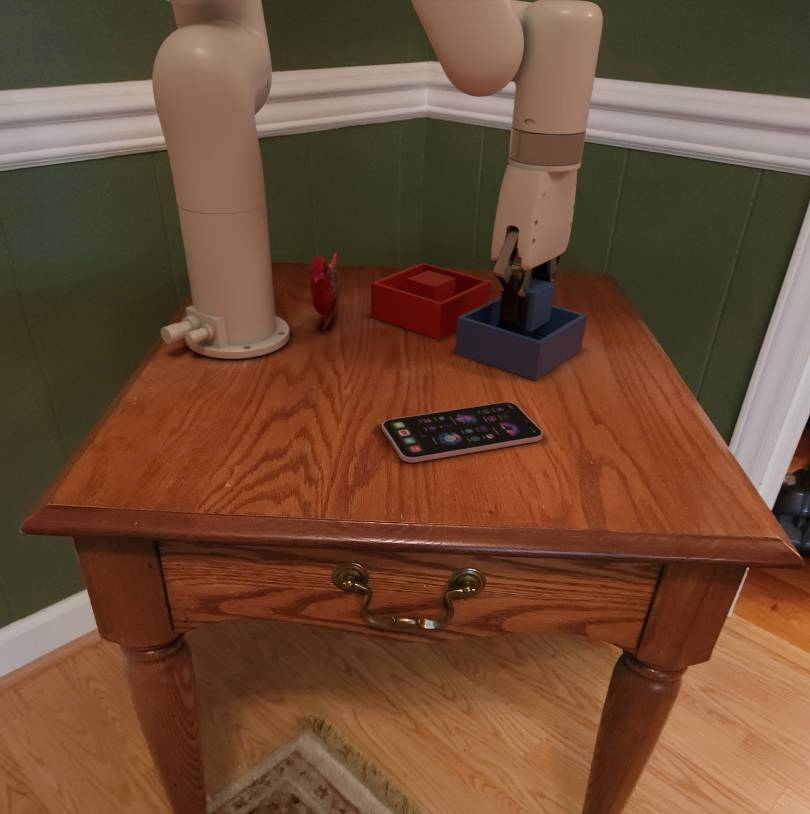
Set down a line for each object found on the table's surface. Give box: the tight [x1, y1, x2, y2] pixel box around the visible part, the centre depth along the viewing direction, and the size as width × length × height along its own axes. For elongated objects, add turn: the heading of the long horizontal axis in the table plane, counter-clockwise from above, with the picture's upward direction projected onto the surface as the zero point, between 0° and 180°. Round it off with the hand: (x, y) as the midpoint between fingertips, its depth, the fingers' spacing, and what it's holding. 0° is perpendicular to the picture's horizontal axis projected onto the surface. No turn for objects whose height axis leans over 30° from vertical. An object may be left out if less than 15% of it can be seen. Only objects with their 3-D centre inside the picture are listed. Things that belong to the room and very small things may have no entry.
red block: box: [407, 270, 456, 302], centre depth 95 cm, size 4×4×4 cm
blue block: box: [498, 275, 556, 332], centre depth 85 cm, size 4×4×4 cm
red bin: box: [370, 262, 492, 340], centre depth 96 cm, size 11×11×4 cm
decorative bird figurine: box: [309, 250, 339, 332], centre depth 92 cm, size 3×18×10 cm, turn 177°
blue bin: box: [454, 295, 589, 382], centre depth 87 cm, size 11×11×4 cm
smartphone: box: [381, 401, 544, 463], centre depth 72 cm, size 8×1×15 cm
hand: (524, 318), depth 86 cm, fingers closed on blue block, 4 cm apart
